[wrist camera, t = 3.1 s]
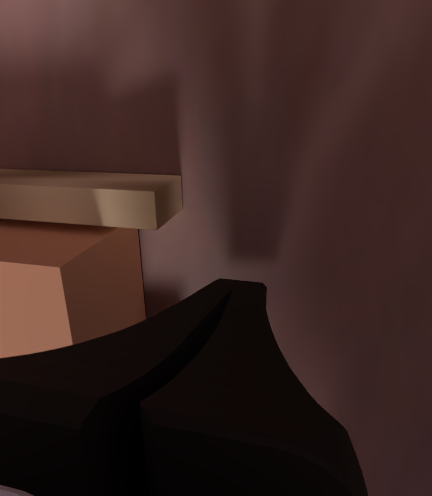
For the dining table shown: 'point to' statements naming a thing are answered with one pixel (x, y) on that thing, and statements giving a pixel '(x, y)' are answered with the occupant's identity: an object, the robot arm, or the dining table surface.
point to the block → (66, 284)
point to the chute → (90, 197)
